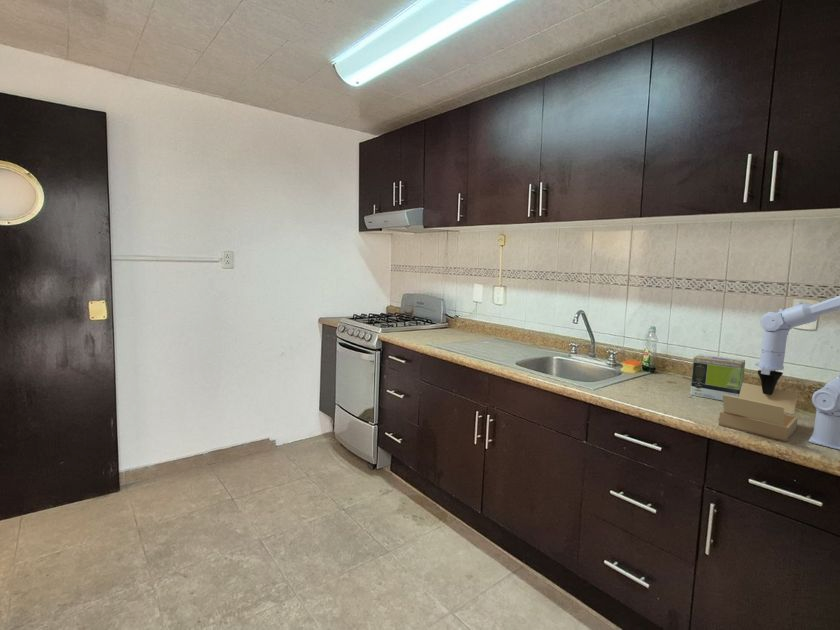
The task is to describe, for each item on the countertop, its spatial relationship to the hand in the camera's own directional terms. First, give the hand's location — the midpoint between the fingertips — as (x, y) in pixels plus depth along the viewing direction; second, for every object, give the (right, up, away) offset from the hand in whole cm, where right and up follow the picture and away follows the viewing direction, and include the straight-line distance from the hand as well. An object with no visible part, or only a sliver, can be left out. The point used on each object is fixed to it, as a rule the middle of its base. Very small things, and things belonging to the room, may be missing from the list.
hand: (767, 394), depth 137 cm
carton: (-7, -9, -5) cm, 13 cm away
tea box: (+2, -6, +27) cm, 28 cm away
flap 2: (0, -1, 0) cm, 1 cm away
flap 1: (-13, -2, -12) cm, 18 cm away
